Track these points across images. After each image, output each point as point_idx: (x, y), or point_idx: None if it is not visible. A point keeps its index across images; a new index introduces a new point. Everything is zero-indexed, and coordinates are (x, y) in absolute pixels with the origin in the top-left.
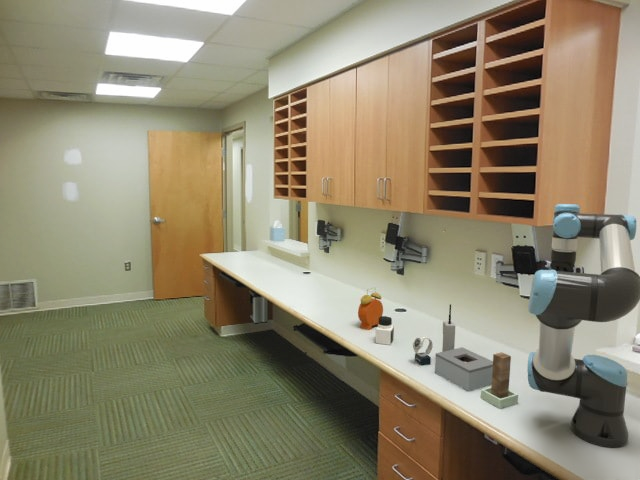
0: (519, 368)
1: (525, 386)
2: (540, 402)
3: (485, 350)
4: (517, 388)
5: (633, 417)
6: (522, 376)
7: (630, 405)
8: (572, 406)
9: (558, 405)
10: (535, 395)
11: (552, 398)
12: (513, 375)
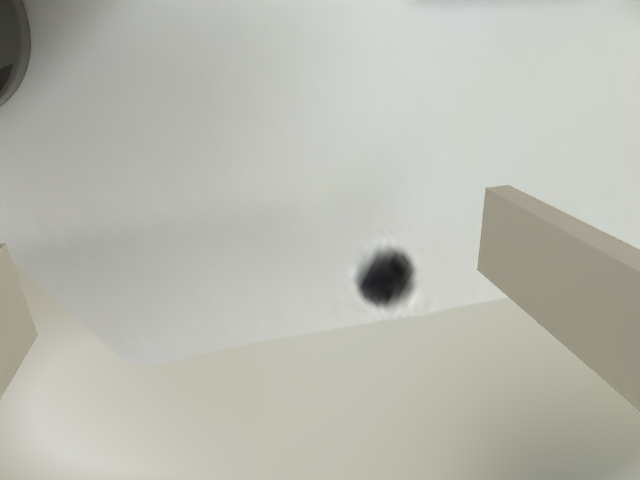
0: (453, 190)
1: (340, 86)
2: (212, 24)
3: (614, 191)
4: (341, 38)
5: (9, 254)
6: (404, 146)
7: (88, 314)
8: (143, 119)
9: (167, 73)
10: (267, 58)
11: (222, 102)
12: (426, 120)
